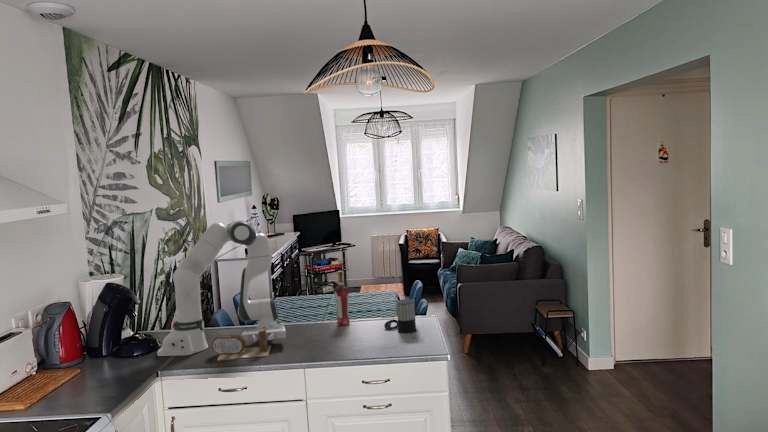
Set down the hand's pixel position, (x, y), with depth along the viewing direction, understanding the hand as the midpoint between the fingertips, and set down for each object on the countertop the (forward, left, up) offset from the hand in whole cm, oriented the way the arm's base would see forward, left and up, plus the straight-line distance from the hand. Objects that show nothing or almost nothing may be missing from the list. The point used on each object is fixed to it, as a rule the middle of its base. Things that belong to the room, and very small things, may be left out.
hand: (262, 339), depth 259 cm
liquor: (+38, +35, -6) cm, 52 cm away
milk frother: (+65, +16, -6) cm, 67 cm away
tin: (-15, +1, -6) cm, 16 cm away
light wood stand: (-8, +1, -6) cm, 10 cm away
